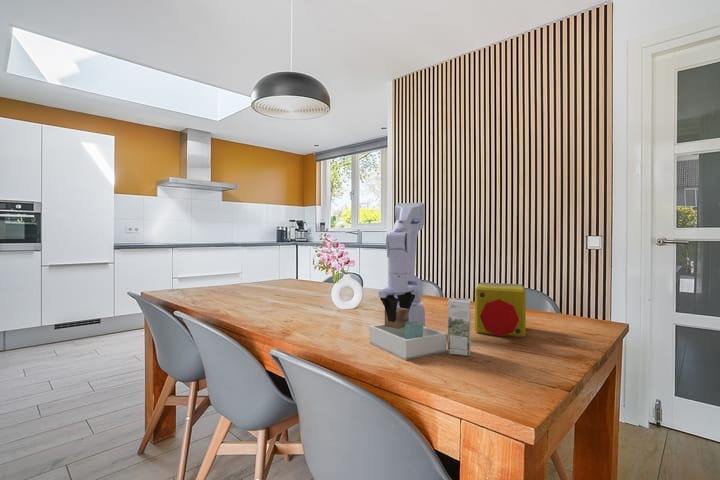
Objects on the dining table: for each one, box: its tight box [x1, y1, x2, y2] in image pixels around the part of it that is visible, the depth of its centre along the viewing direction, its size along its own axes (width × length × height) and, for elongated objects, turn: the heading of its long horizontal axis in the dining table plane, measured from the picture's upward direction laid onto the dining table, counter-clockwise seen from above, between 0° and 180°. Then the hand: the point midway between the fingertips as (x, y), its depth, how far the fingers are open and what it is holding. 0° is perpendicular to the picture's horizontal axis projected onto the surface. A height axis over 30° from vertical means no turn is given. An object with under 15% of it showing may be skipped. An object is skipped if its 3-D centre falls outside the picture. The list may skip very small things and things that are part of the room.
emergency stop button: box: [474, 281, 527, 338], centre depth 119 cm, size 15×24×15 cm, turn 158°
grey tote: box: [368, 323, 447, 361], centre depth 104 cm, size 14×18×5 cm
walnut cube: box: [384, 307, 409, 329], centre depth 107 cm, size 5×5×5 cm
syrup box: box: [447, 297, 472, 357], centre depth 99 cm, size 6×6×14 cm
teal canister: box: [404, 321, 423, 339], centre depth 100 cm, size 5×5×7 cm
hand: (397, 319), depth 107 cm, fingers closed on walnut cube, 5 cm apart
